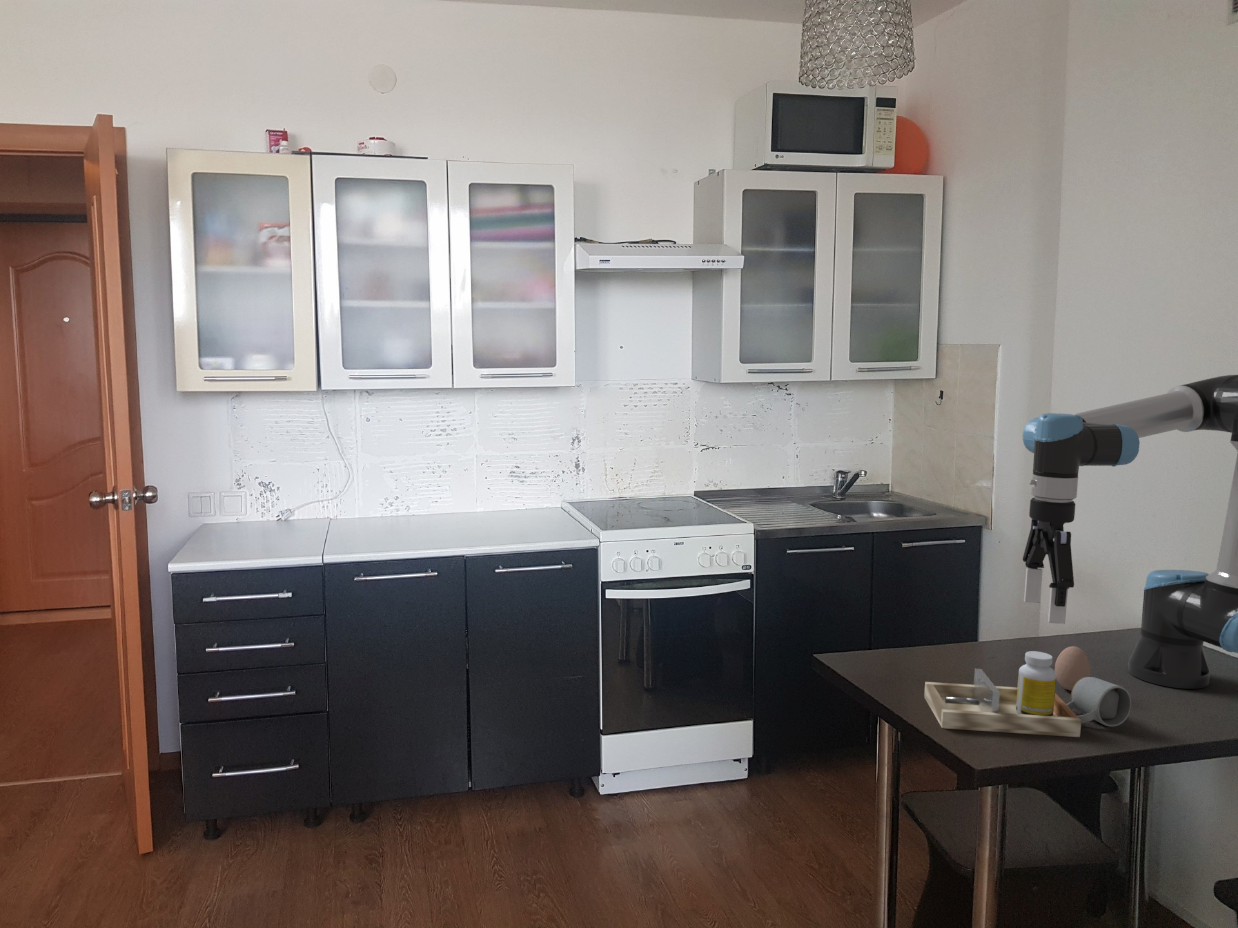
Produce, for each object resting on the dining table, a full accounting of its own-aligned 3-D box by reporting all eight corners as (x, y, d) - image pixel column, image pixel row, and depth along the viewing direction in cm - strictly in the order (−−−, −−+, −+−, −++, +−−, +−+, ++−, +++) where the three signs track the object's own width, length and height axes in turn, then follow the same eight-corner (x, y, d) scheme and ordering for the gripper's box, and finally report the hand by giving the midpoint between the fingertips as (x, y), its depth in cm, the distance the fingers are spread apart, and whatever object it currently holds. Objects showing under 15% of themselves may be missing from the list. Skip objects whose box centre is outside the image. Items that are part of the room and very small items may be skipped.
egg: (1073, 697, 191) (1077, 653, 189) (1045, 686, 196) (1049, 643, 195) (1096, 693, 193) (1100, 649, 192) (1068, 682, 199) (1072, 640, 198)
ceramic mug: (1097, 708, 185) (1100, 670, 184) (1130, 724, 177) (1134, 685, 176) (1051, 714, 182) (1054, 675, 181) (1084, 731, 174) (1087, 690, 173)
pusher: (979, 698, 186) (981, 668, 185) (997, 723, 174) (999, 691, 173) (937, 695, 187) (940, 666, 186) (953, 720, 175) (955, 689, 174)
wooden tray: (1050, 704, 186) (1051, 689, 186) (1079, 736, 171) (1081, 720, 171) (924, 696, 189) (925, 681, 188) (942, 727, 174) (943, 711, 173)
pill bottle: (1056, 723, 176) (1062, 662, 174) (1019, 719, 177) (1024, 659, 175) (1048, 710, 182) (1053, 651, 180) (1012, 706, 183) (1017, 648, 182)
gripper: (1011, 487, 187) (1002, 593, 189) (1055, 509, 162) (1045, 631, 165) (1051, 488, 186) (1042, 595, 189) (1101, 511, 161) (1090, 633, 164)
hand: (1043, 612), depth 177 cm, fingers open, 13 cm apart
